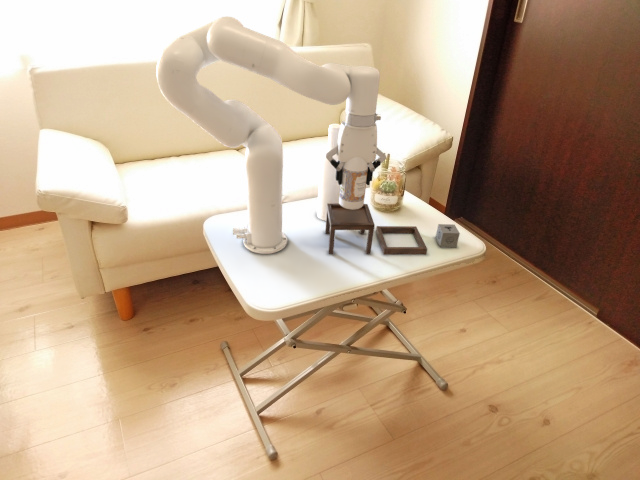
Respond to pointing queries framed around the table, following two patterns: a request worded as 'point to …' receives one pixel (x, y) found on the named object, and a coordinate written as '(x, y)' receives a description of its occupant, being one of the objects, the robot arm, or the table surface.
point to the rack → (363, 221)
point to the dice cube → (447, 235)
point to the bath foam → (353, 183)
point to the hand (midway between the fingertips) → (353, 182)
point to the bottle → (328, 176)
